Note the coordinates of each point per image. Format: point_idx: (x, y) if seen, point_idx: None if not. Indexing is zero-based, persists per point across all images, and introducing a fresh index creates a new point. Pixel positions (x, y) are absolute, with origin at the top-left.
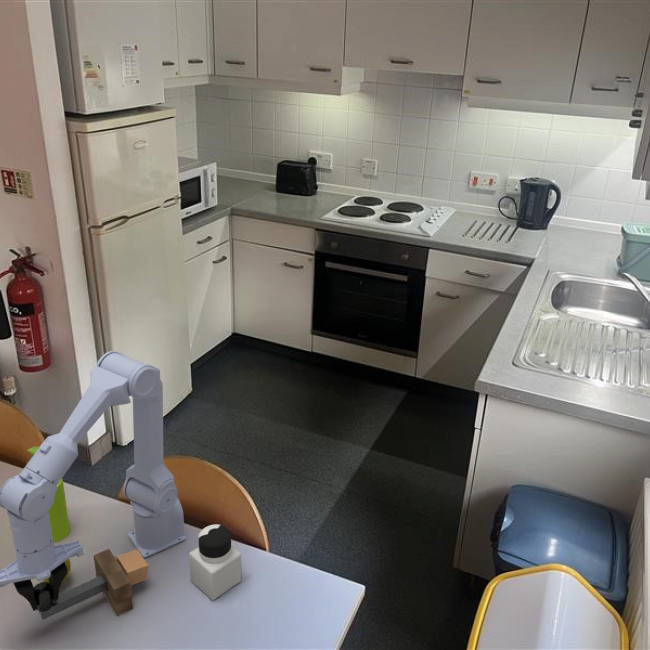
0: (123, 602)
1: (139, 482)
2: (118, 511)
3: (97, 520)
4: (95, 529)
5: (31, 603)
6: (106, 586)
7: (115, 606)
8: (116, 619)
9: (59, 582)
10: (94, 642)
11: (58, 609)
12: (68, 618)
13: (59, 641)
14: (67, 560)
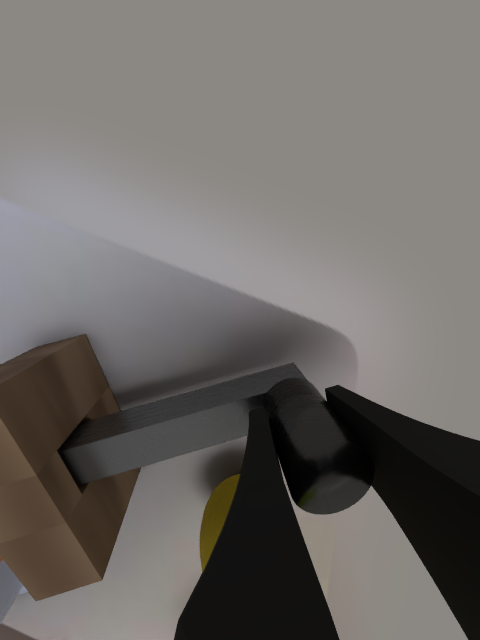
0: (30, 356)
1: None
2: (87, 637)
3: (139, 618)
4: (144, 597)
5: (377, 406)
6: (79, 431)
7: (66, 352)
8: (87, 324)
9: (250, 507)
10: (153, 265)
11: (246, 382)
12: (219, 368)
13: (245, 303)
14: (205, 561)
